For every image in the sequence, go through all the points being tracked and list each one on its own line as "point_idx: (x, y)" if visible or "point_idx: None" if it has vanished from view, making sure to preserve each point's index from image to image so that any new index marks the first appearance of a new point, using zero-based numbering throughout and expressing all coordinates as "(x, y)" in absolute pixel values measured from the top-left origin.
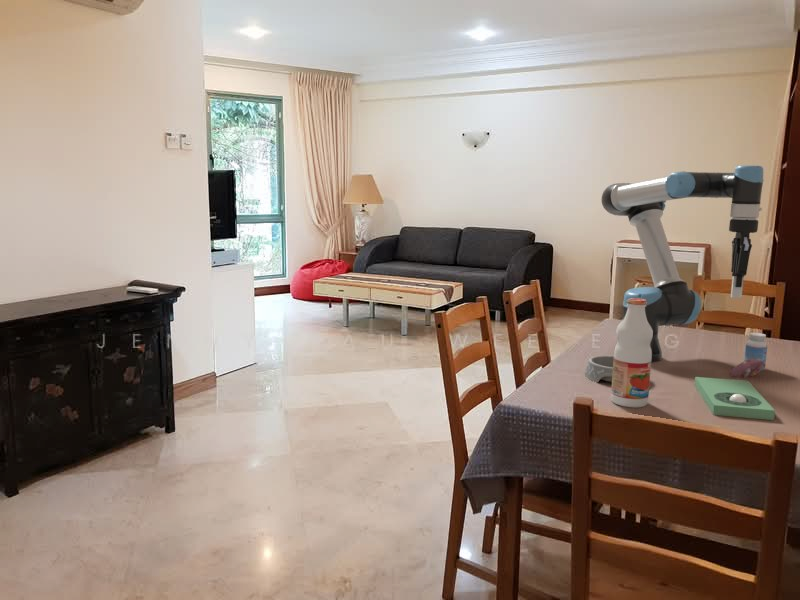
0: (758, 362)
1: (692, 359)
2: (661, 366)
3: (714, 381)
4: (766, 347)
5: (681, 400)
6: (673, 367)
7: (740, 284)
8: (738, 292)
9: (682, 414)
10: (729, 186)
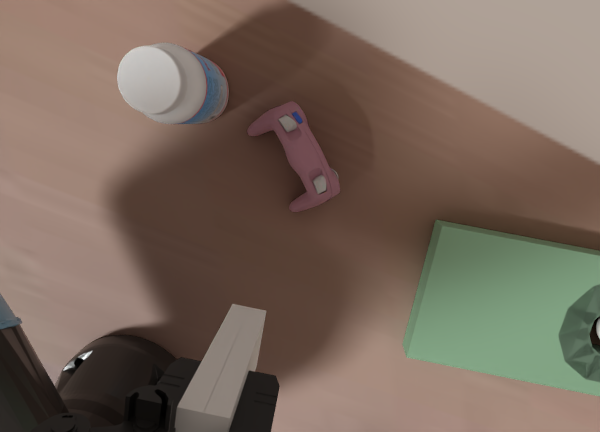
0: (314, 138)
1: (123, 246)
2: None
3: (452, 324)
4: (195, 56)
5: (535, 421)
6: None
7: (275, 400)
8: (256, 352)
9: None
10: None
